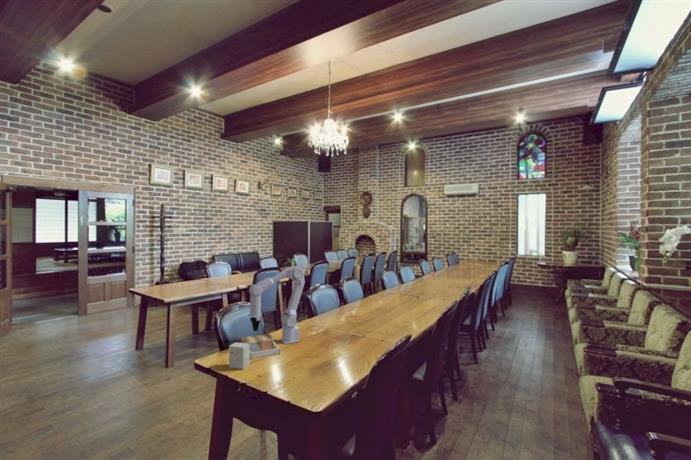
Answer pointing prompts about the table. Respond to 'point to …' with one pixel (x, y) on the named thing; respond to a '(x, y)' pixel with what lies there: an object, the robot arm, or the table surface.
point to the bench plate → (256, 339)
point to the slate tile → (254, 348)
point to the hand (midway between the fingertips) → (255, 330)
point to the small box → (239, 355)
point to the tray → (266, 352)
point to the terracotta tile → (266, 344)
